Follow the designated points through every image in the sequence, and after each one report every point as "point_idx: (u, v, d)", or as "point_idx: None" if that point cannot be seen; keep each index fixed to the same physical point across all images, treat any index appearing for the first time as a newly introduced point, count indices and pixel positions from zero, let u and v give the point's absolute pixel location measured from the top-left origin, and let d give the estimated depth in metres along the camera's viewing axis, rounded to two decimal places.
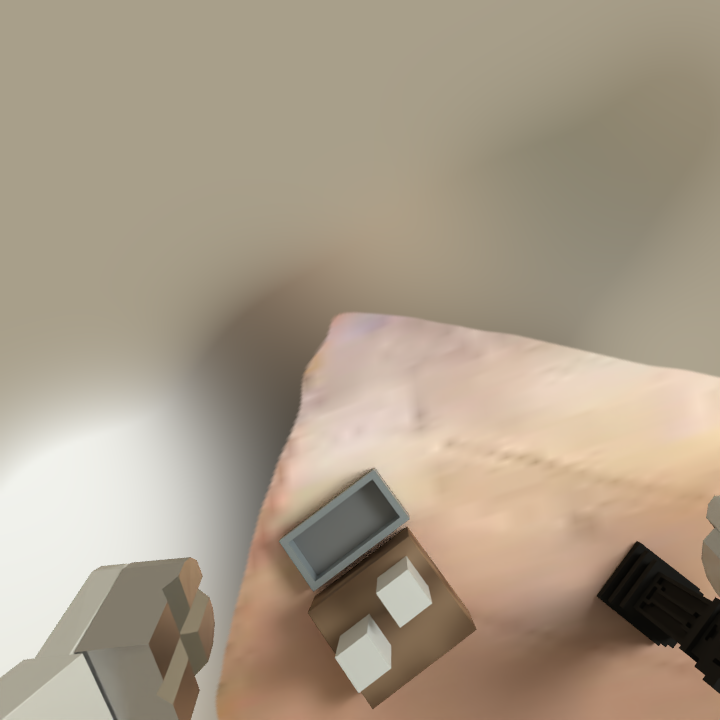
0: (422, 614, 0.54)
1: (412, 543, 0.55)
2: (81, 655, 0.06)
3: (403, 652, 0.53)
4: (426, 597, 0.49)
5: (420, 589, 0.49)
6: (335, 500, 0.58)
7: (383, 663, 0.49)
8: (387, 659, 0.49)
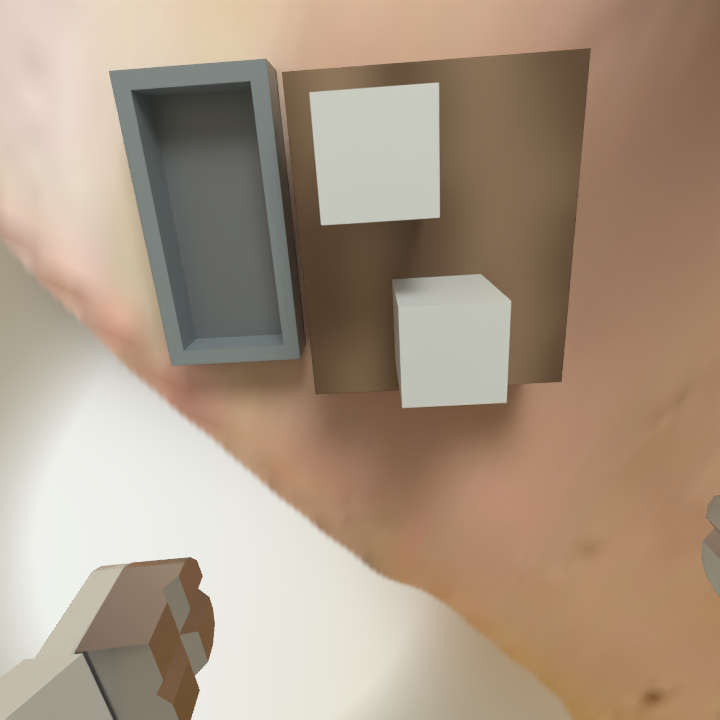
0: (469, 161, 0.20)
1: (303, 74, 0.19)
2: (81, 655, 0.06)
3: (513, 256, 0.22)
4: (413, 88, 0.15)
5: (383, 92, 0.15)
6: (141, 207, 0.24)
7: (488, 311, 0.18)
8: (490, 296, 0.18)
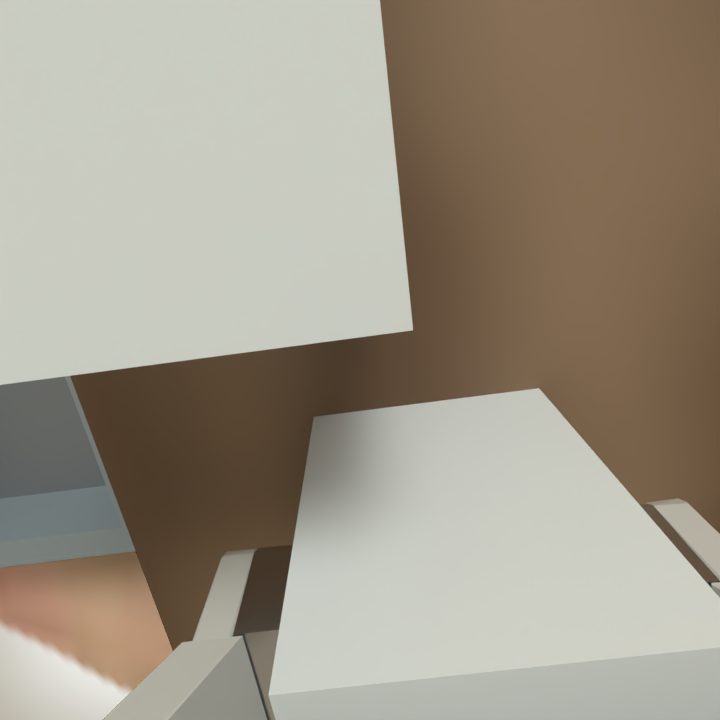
0: (495, 89, 0.07)
1: None
2: (242, 638, 0.06)
3: (622, 341, 0.08)
4: None
5: None
6: None
7: (654, 684, 0.04)
8: (637, 579, 0.05)
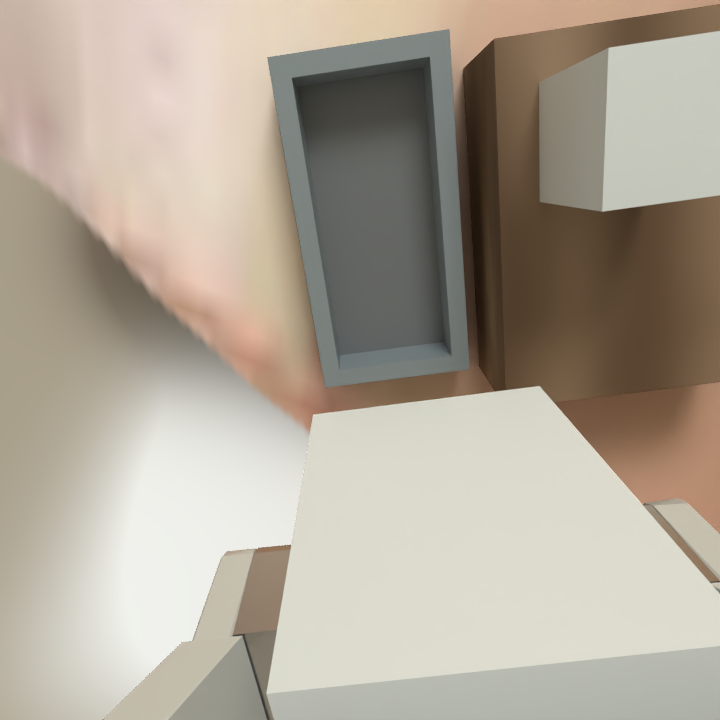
0: None
1: (519, 40, 0.17)
2: (241, 638, 0.06)
3: None
4: None
5: (699, 40, 0.12)
6: (299, 212, 0.21)
7: (655, 683, 0.04)
8: (638, 577, 0.05)
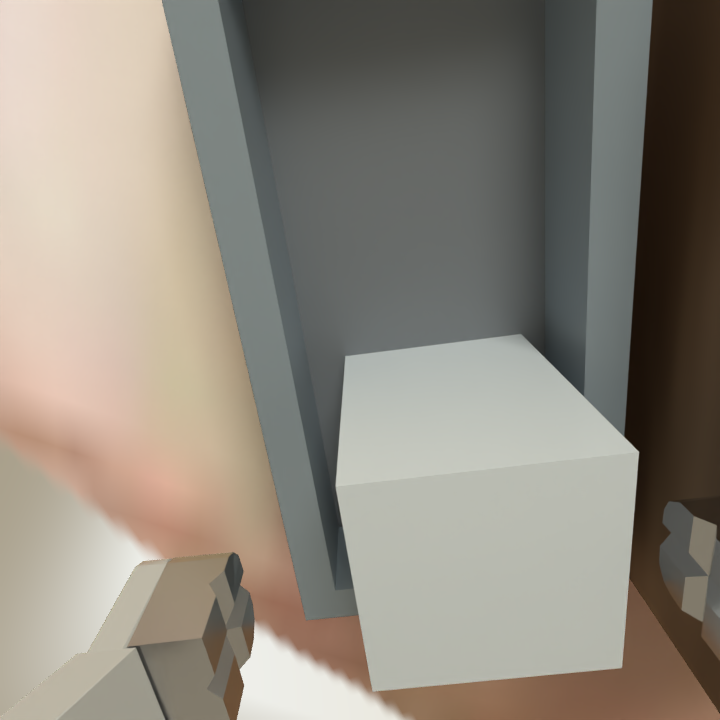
0: None
1: None
2: (135, 649, 0.06)
3: None
4: None
5: None
6: (234, 266, 0.08)
7: (576, 481, 0.07)
8: (572, 429, 0.07)
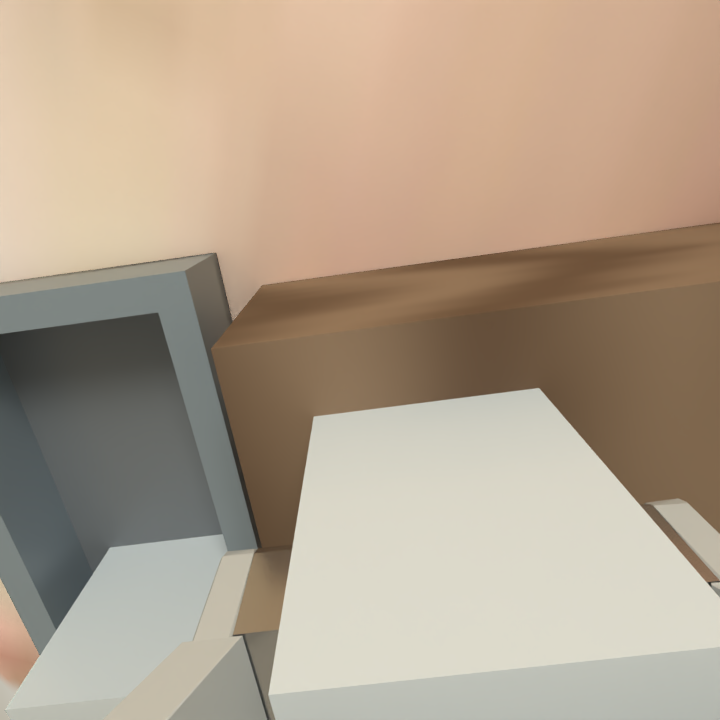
0: (640, 482, 0.09)
1: (262, 349, 0.08)
2: (241, 638, 0.06)
3: None
4: (659, 661, 0.04)
5: (542, 675, 0.04)
6: None
7: None
8: None
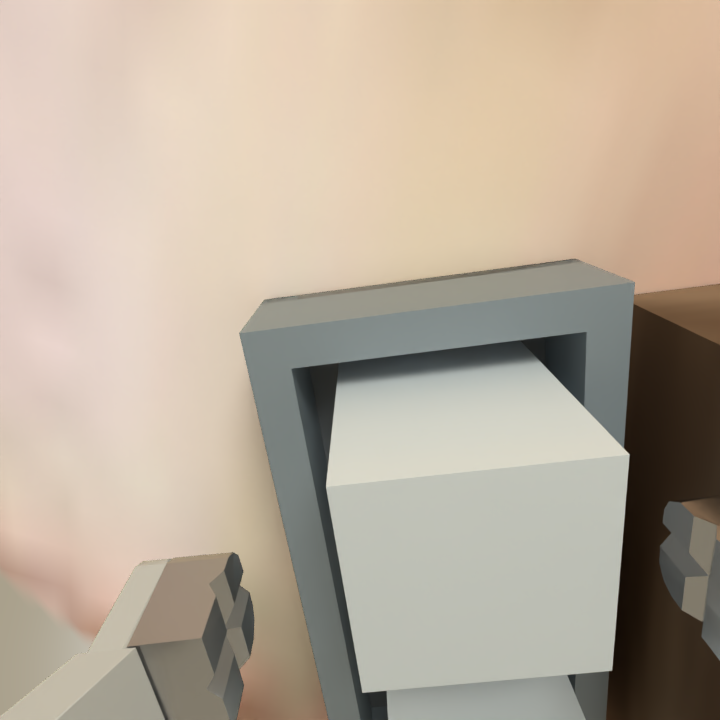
0: None
1: None
2: (134, 650, 0.06)
3: None
4: (569, 468, 0.07)
5: (497, 477, 0.07)
6: (305, 580, 0.11)
7: None
8: None
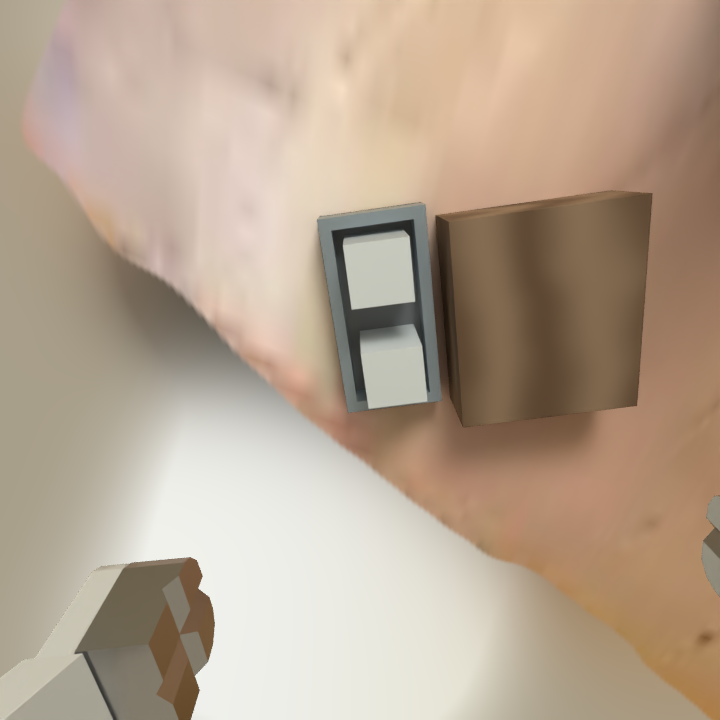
0: (572, 267, 0.30)
1: (463, 222, 0.29)
2: (81, 655, 0.06)
3: (602, 325, 0.32)
4: (396, 240, 0.29)
5: (381, 242, 0.29)
6: (333, 306, 0.34)
7: (410, 352, 0.32)
8: (411, 343, 0.32)
